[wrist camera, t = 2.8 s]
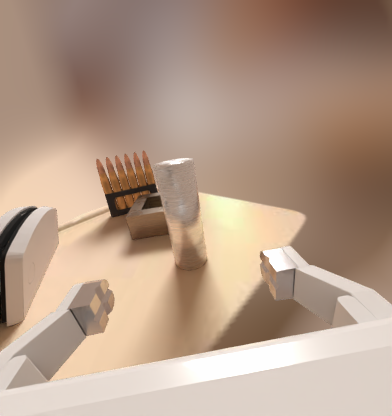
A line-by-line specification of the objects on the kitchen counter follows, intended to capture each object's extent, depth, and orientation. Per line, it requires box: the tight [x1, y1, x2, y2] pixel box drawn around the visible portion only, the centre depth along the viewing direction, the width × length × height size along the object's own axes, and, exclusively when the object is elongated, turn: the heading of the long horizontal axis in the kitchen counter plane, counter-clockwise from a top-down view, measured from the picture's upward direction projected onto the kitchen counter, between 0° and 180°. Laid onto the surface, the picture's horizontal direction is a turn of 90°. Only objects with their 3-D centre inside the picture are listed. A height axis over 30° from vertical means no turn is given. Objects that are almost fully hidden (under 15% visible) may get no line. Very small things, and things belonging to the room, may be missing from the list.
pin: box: [154, 158, 207, 270], centre depth 21 cm, size 4×4×12 cm
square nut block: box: [125, 192, 169, 240], centre depth 33 cm, size 10×10×4 cm
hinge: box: [0, 206, 59, 327], centre depth 23 cm, size 17×5×10 cm, turn 25°
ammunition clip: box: [96, 151, 158, 217], centre depth 39 cm, size 11×2×12 cm, turn 109°
